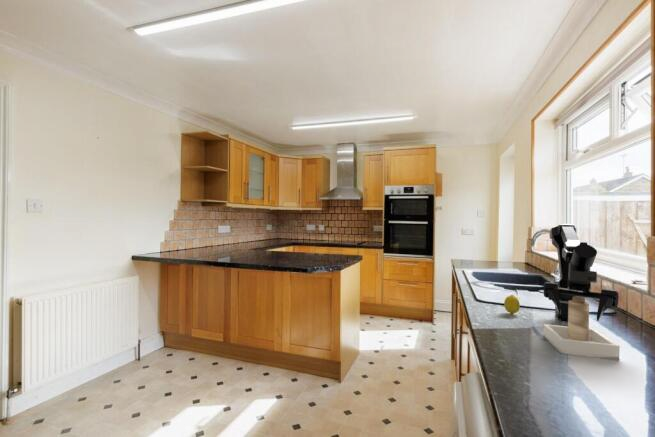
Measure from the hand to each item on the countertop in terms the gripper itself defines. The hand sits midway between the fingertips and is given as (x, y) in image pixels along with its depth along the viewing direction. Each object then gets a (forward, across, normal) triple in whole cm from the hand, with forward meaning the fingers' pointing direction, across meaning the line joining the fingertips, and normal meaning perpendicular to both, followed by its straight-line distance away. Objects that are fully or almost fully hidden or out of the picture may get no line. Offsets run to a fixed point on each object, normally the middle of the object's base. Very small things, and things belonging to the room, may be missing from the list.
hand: (578, 317), depth 97 cm
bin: (+7, 0, +6) cm, 9 cm away
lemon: (-10, -21, +23) cm, 33 cm away
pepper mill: (+6, 0, +6) cm, 8 cm away
